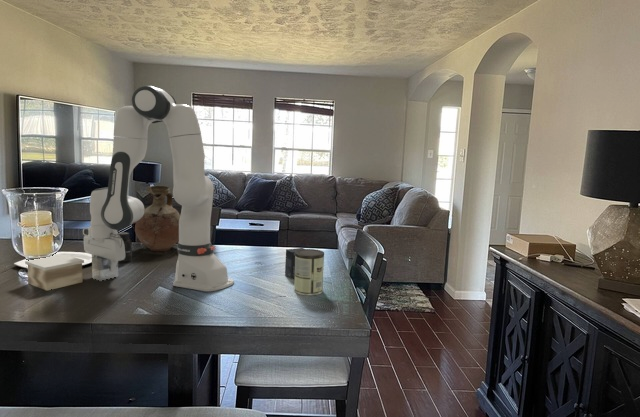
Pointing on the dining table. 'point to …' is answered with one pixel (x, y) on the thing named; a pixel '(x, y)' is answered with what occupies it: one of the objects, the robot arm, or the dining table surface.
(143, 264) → the dining table surface
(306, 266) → the coffee can
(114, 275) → the block
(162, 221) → the jug
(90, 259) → the plate
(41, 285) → the stand
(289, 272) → the box
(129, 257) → the supplement bottle
